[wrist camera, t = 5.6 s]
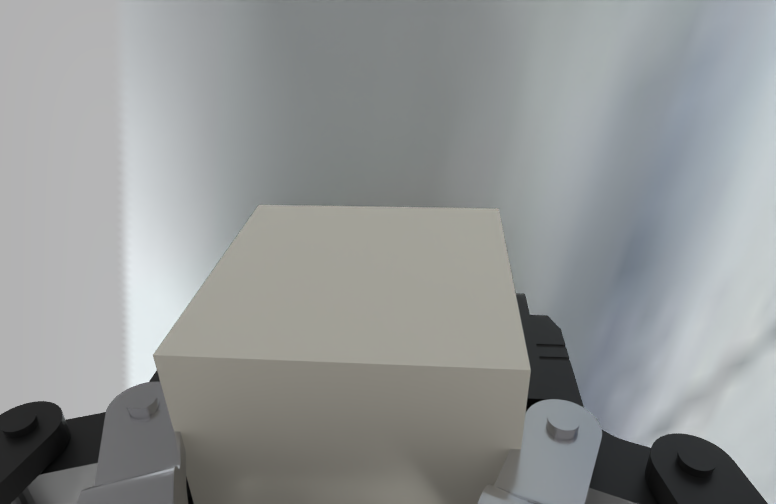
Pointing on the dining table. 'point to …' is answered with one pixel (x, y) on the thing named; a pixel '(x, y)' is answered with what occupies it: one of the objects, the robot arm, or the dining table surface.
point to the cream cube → (350, 359)
